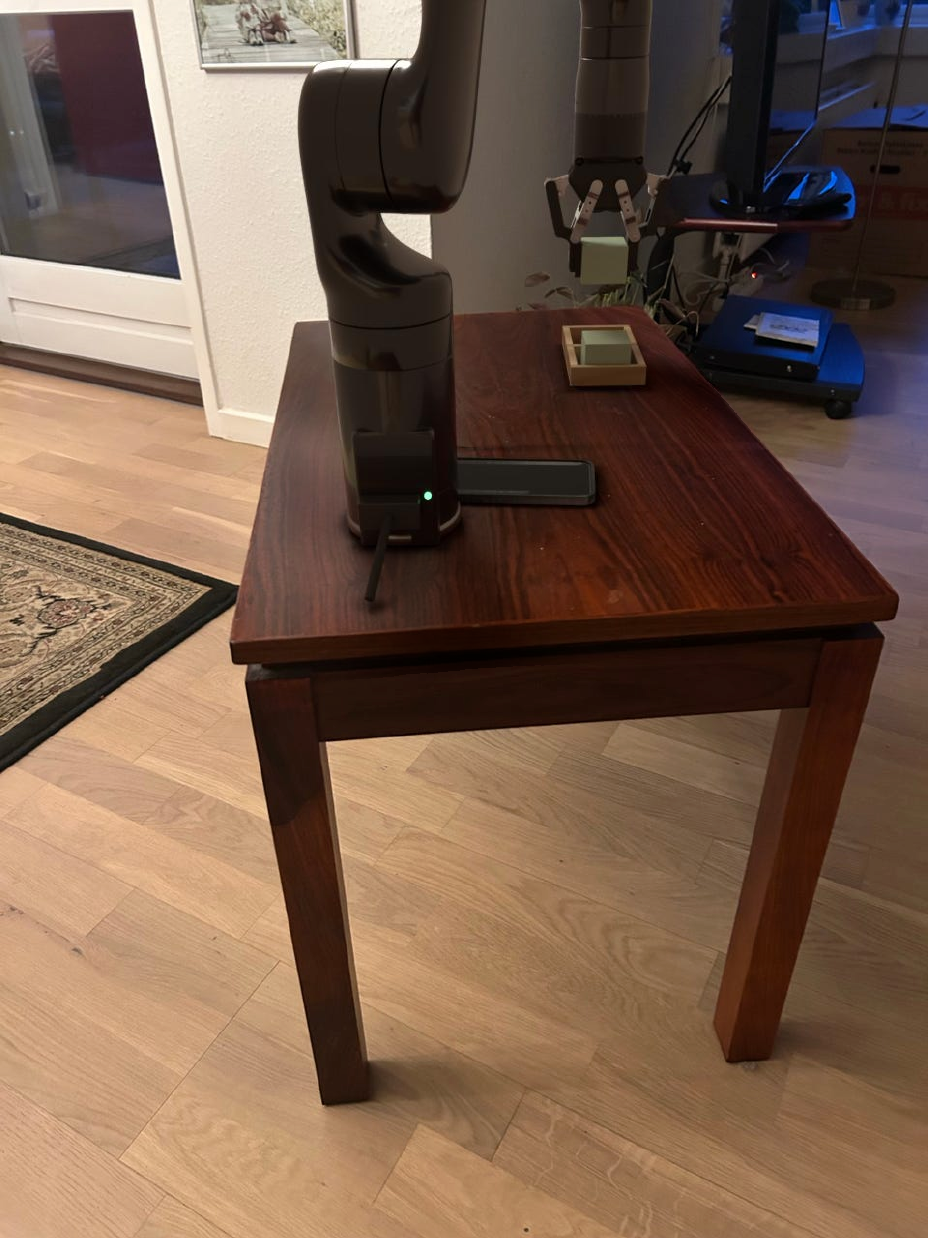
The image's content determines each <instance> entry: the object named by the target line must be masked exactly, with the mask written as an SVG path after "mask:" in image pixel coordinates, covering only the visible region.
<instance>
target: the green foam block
mask: <svg viewBox="0 0 928 1238" xmlns="http://www.w3.org/2000/svg"><path fill="white" fill-rule="evenodd" d="M631 347H632V343H631V341H630V338H629V336H628V333H627V331H626V330H597V331H582V338H581V360H580V365H618V364H630V360H631Z"/></svg>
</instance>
